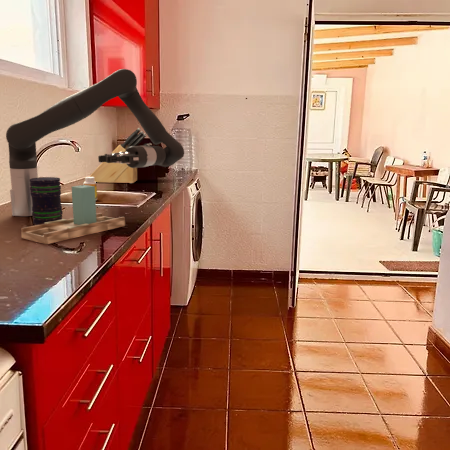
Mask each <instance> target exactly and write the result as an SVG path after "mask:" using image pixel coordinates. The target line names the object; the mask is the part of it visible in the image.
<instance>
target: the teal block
mask: <svg viewBox="0 0 450 450" xmlns="http://www.w3.org/2000/svg"><path fill="white" fill-rule="evenodd" d="M71 200H72V201H71V202H72V216H73V219H74V224H77V225H81V224H91V223H96V222H97V221H96V214H97V205H96V200H95V186H89V185H83V184H82V185H81V184H79V185H74V186H71Z"/></svg>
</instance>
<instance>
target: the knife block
mask: <svg viewBox="0 0 450 450" xmlns="http://www.w3.org/2000/svg"><path fill="white" fill-rule="evenodd" d="M144 132H145V131H143V130H142V129H141V128H140V127H138V128H137V129H136V130H135V131H133V132H132V133H131V134H130V135H129V136H128V137H127V139H126V140H125V141H124V142H123V143H120V144H119V145H118V146H117V147H115V149H114V150H112V152H111V153H119V152H125V151H126V149H127V148H128V147H130V146H139V145H140V143H142V142H143V140H144V139H146V137H148V135H147V134H146V132H145V133H144ZM142 146H153V143H151V142H149V143H144V144H142ZM100 163H101V164H99V165H98V166H97V168H96V169H95V170H94V171H93V172H92V173H91V174H90V175H89V176H88V177H94V179H95V182H97V183H129V184H134V183H135V182H136V181H138V168H131V167H129V166H128V165H127V164H121V163H106V162H100Z"/></svg>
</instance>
